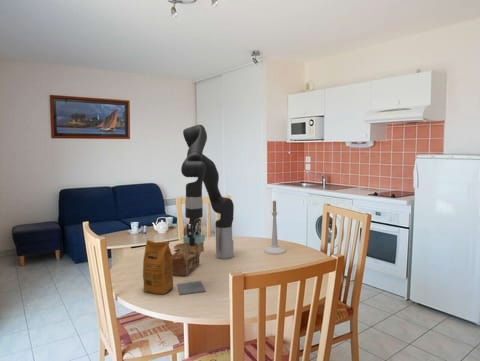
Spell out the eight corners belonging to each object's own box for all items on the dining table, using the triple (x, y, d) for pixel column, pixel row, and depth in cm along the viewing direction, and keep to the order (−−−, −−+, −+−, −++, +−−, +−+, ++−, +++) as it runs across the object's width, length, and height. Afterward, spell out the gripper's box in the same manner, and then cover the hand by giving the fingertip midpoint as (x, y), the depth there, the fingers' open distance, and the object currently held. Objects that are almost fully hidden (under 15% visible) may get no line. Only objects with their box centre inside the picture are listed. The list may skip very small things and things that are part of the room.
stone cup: (206, 249, 213) (205, 224, 212) (193, 255, 203) (192, 229, 202) (186, 245, 221) (185, 222, 220) (173, 251, 211) (172, 226, 210)
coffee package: (153, 283, 163) (151, 236, 161) (176, 287, 158) (174, 238, 156) (139, 292, 154) (137, 242, 152) (163, 296, 149) (161, 245, 147)
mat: (201, 282, 164) (201, 280, 163) (205, 291, 153) (205, 290, 153) (177, 285, 161) (176, 283, 161) (179, 295, 150) (179, 293, 150)
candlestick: (280, 255, 199) (279, 202, 195) (259, 252, 205) (259, 201, 202) (289, 249, 210) (289, 199, 206) (269, 246, 216) (269, 197, 213)
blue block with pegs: (187, 250, 162) (187, 234, 162) (204, 251, 161) (204, 234, 160) (183, 253, 156) (183, 237, 156) (201, 254, 155) (201, 238, 154)
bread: (186, 277, 170) (186, 257, 169) (166, 275, 173) (165, 255, 172) (200, 264, 188) (200, 245, 187) (182, 262, 191) (181, 244, 190)
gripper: (190, 204, 165) (190, 239, 166) (180, 208, 150) (180, 248, 152) (206, 204, 163) (206, 240, 165) (197, 209, 149) (197, 249, 151)
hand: (194, 244), depth 158 cm, fingers closed on blue block with pegs, 6 cm apart
